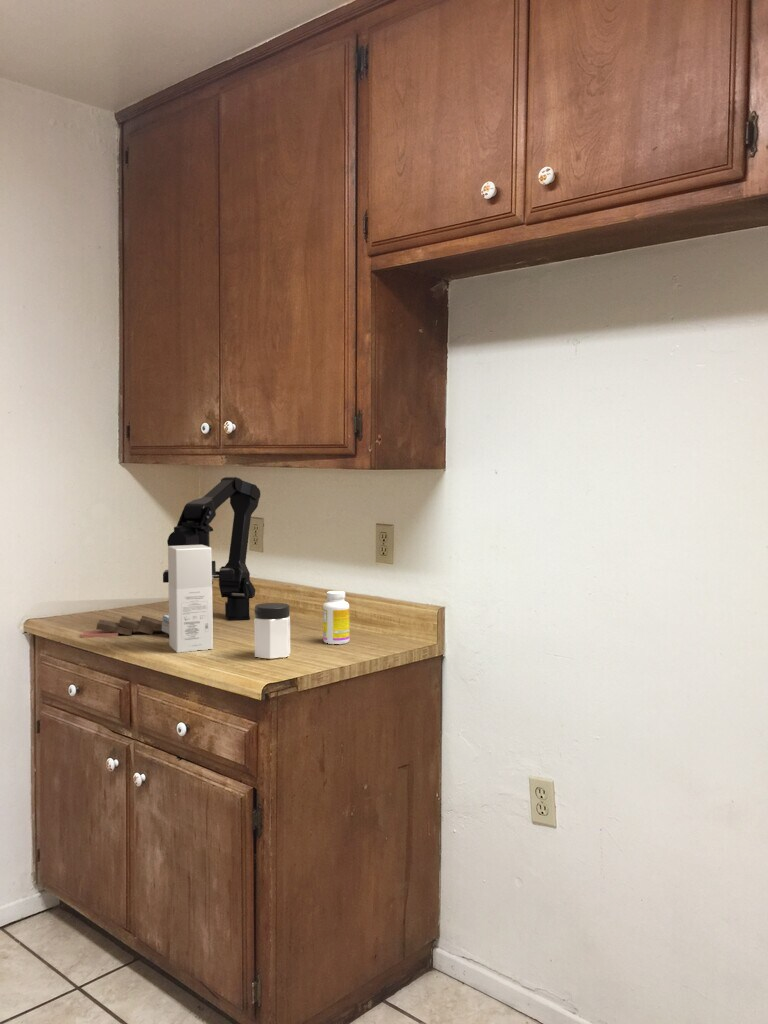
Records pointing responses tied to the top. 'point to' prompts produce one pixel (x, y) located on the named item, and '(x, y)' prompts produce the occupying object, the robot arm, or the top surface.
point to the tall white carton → (190, 598)
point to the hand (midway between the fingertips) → (199, 607)
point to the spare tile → (98, 634)
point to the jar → (272, 630)
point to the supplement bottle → (336, 618)
